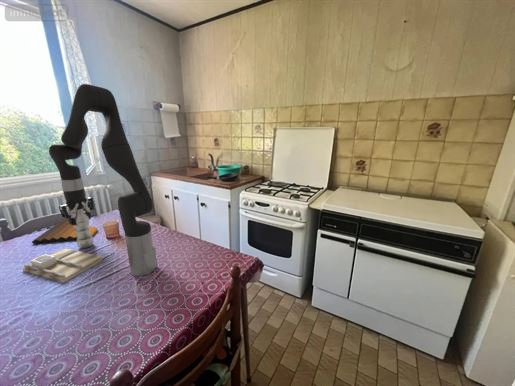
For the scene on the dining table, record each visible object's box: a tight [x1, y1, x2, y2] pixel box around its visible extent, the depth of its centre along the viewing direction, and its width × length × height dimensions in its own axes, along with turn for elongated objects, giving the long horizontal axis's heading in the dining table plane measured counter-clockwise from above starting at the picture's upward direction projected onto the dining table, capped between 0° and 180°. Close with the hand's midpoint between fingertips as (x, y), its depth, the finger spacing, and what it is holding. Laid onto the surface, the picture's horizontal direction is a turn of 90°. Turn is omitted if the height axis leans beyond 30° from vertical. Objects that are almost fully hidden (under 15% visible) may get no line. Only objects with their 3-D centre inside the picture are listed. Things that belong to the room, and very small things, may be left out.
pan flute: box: [31, 219, 98, 245], centre depth 124 cm, size 25×3×25 cm
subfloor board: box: [21, 248, 104, 284], centre depth 94 cm, size 23×16×3 cm
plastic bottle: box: [74, 208, 95, 249], centre depth 106 cm, size 6×7×20 cm
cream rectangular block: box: [30, 253, 57, 269], centre depth 91 cm, size 6×5×3 cm
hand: (81, 222), depth 105 cm, fingers closed on plastic bottle, 6 cm apart
